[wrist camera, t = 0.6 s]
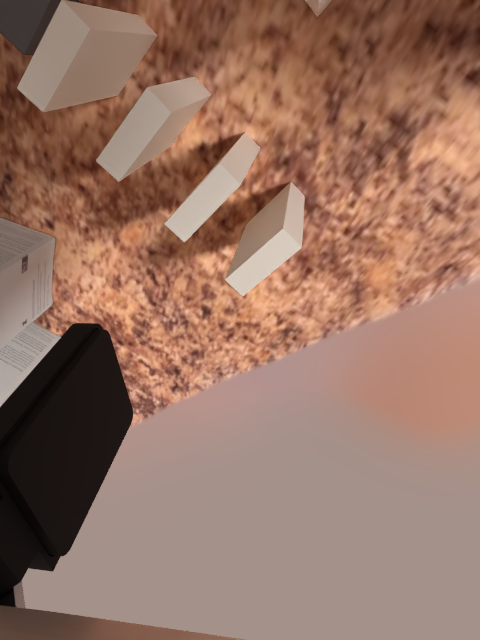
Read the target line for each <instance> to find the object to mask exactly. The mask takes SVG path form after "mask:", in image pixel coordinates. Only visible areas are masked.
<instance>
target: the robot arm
mask: <svg viewBox="0 0 480 640" xmlns="http://www.w3.org/2000/svg"><path fill="white" fill-rule="evenodd" d="M132 418H133V409H132V405H131V402H130V399H129V396H128V392H127V389H126V386H125V383H124V379H123V376H122V373H121V370H120V366H119V363H118V360H117V357H116V353H115V350H114V347H113V344H112V340H111V337H110V334H109V332H108V331H107V330H103V328H102V326H101V325H99V324H90V323H76V324H73V325H72V326H71V327H70V328H69V329H68V330H67V331H66V332H65V334H64V335H63V336H62V337H61V338H60V339H59V340H58V342H57V343H56V344H55V345H54V346H53V347H52V348H51V350H50V351H49V352H48V353H47V354H46V355H45V356H44V358H43V359H42V360H41V361H40V362H39V363H38V364H37V366H36V367H35V368H34V369H33V370H32V371H31V372H30V373H29V375H28V376H27V377H26V378H25V379H24V380H23V381H22V383H21V384H20V385H19V386H18V387H17V388H16V389H15V391H14V392H13V393H12V394H11V395H10V396H9V397H8V399H7V400H6V401H5V402H4V403H3V404H2V405H1V407H0V640H243V639H236V638H229V637H222V636H216V635H209V634H202V633H195V632H188V631H182V630H174V629H168V628H161V627H153V626H147V625H140V624H133V623H126V622H119V621H112V620H105V619H98V618H92V617H84V616H78V615H70V614H64V613H57V612H50V611H42V610H33V609H25V602H24V595H23V587H22V578H23V577H24V575H25V573H26V571H27V569H28V568H31V569H39V570H46V571H53V570H54V568H55V566H56V564H57V562H58V560H59V558H60V556H64V555H66V554H67V552H68V551H69V550H70V548H71V547H72V544H73V542H74V540H75V538H76V536H77V534H78V532H79V530H80V528H81V526H82V524H83V522H84V519H85V518H86V516H87V514H88V511H89V509H90V507H91V505H92V503H93V501H94V499H95V497H96V495H97V493H98V491H99V489H100V487H101V484H102V483H103V480H104V478H105V476H106V474H107V472H108V470H109V468H110V466H111V464H112V462H113V459H114V458H115V456H116V454H117V452H118V449H119V447H120V445H121V443H122V441H123V439H124V437H125V435H126V433H127V431H128V429H129V427H130V425H131V422H132Z"/></svg>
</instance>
